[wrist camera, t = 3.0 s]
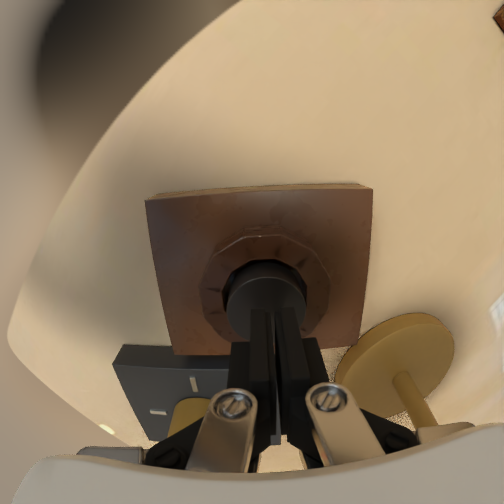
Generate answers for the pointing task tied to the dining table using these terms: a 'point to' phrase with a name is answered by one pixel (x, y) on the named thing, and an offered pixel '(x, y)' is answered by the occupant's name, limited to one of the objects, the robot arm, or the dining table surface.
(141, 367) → the dimmer panel
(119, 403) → the dining table surface
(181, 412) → the dimmer knob
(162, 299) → the switch block
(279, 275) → the power button
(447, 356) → the lamp
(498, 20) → the diary
